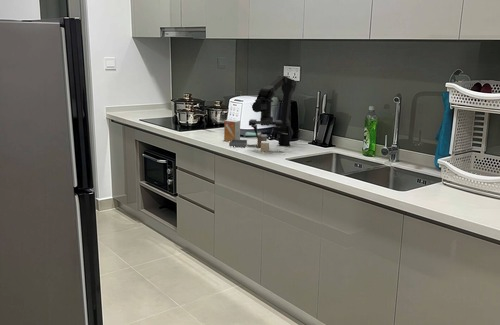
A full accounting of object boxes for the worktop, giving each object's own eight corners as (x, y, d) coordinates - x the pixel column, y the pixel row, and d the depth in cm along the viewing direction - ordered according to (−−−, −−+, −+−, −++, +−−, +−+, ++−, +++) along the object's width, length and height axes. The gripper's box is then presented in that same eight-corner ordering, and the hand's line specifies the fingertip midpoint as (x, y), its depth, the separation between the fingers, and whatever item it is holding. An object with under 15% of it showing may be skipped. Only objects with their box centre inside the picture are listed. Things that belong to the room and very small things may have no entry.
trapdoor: (266, 138, 291) (267, 132, 290) (266, 141, 282) (266, 135, 281) (246, 138, 292) (246, 131, 291) (245, 140, 283) (245, 134, 282)
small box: (223, 141, 301) (224, 120, 298) (229, 139, 306) (229, 119, 303) (234, 142, 297) (235, 121, 294) (240, 141, 302) (240, 120, 300)
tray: (246, 143, 294) (246, 139, 293) (245, 147, 283) (245, 143, 282) (231, 143, 295) (231, 139, 294) (229, 146, 283) (229, 142, 283)
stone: (268, 150, 277) (269, 142, 276) (268, 151, 272) (268, 144, 271) (261, 150, 277) (261, 142, 276) (260, 151, 273) (260, 144, 272)
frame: (266, 144, 294) (266, 132, 292) (265, 148, 281) (265, 135, 279) (258, 144, 294) (258, 131, 292) (256, 148, 281) (257, 135, 280)
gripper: (248, 111, 263) (247, 140, 266) (282, 113, 261) (281, 141, 265) (250, 109, 273) (249, 136, 277) (282, 110, 272) (281, 137, 275)
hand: (265, 138), depth 273 cm, fingers open, 9 cm apart
